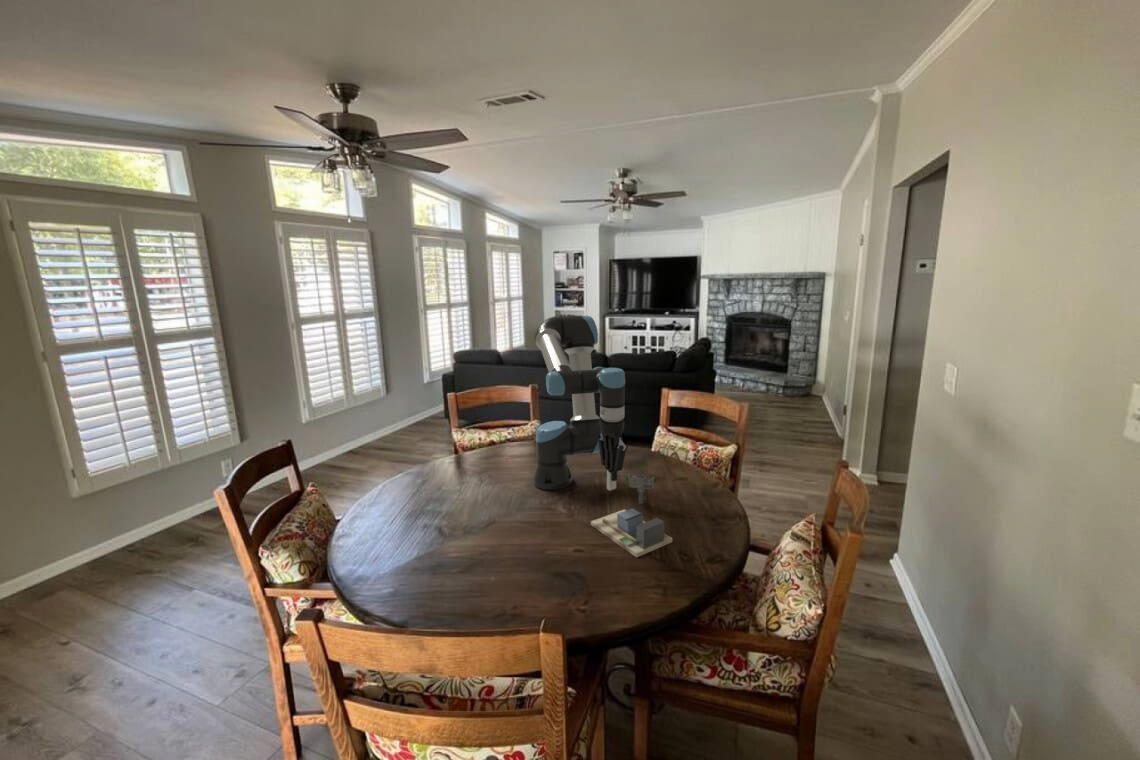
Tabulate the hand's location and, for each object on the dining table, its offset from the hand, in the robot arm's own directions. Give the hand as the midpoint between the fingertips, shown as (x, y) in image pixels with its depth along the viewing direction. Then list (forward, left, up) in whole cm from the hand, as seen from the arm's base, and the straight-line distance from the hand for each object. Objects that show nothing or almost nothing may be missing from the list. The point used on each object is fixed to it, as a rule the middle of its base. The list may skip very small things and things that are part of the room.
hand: (611, 488), depth 150 cm
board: (+10, 0, -11) cm, 15 cm away
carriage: (+10, 0, -10) cm, 14 cm away
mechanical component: (-4, +16, -11) cm, 20 cm away
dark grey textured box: (+19, 0, -10) cm, 21 cm away
